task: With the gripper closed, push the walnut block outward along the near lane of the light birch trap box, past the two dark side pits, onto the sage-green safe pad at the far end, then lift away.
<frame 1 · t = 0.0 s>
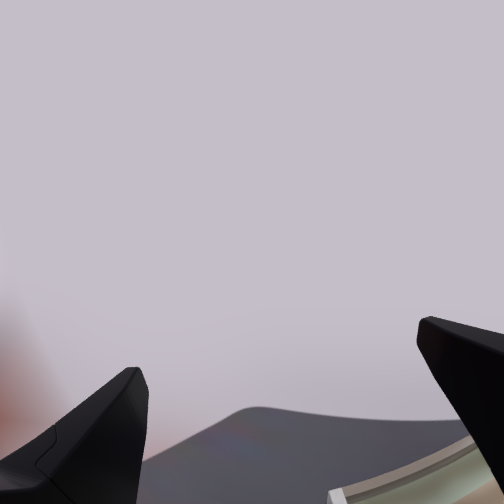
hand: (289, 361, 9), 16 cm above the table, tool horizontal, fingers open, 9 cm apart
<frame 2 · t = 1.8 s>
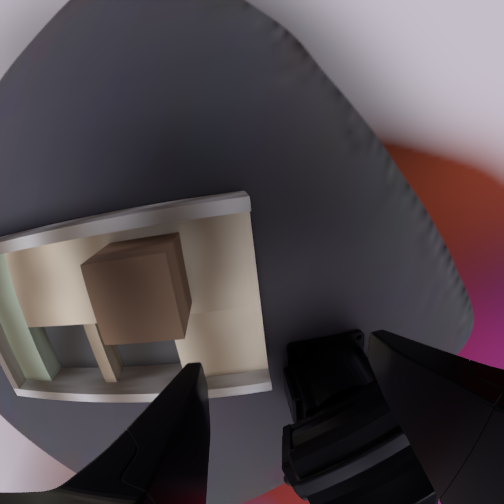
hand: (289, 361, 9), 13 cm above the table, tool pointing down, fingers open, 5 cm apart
trap box: (109, 301, 21), on the table
walnut block: (150, 272, 18), point 2 cm above the table, touching trap box
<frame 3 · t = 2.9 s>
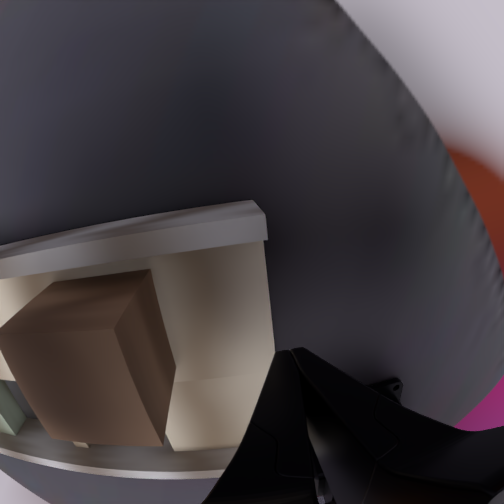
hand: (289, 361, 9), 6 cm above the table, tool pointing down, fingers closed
trap box: (70, 350, 15), on the table
walnut block: (112, 326, 12), point 2 cm above the table, touching trap box
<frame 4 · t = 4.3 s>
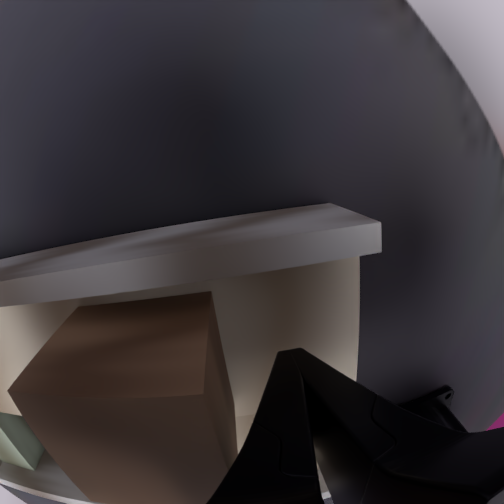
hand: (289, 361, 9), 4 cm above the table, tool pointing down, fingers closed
trap box: (100, 379, 12), on the table
walnut block: (157, 360, 10), point 3 cm above the table, touching gripper
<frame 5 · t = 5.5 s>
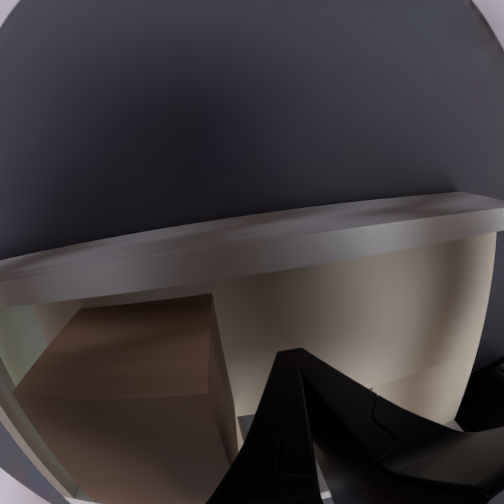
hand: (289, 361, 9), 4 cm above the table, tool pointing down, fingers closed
trap box: (243, 367, 13), on the table
walnut block: (158, 361, 10), point 2 cm above the table, touching gripper, trap box
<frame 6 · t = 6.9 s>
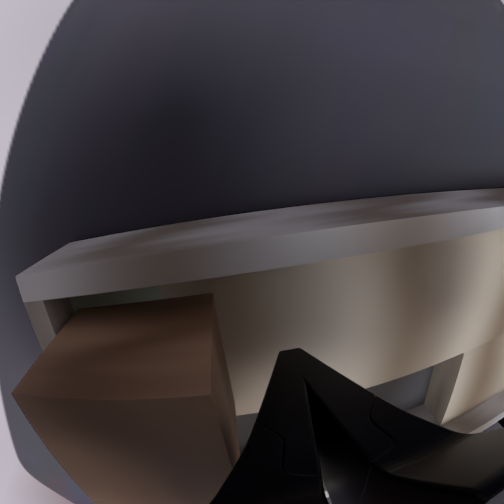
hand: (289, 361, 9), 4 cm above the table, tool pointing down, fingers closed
trap box: (352, 345, 13), on the table
walnut block: (158, 361, 10), point 3 cm above the table, touching gripper, trap box
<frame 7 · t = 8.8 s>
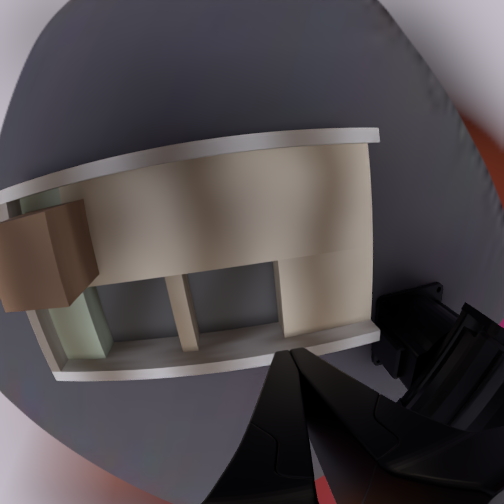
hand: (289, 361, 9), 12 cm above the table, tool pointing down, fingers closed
trap box: (191, 252, 20), on the table
walnut block: (59, 242, 16), point 2 cm above the table, touching trap box
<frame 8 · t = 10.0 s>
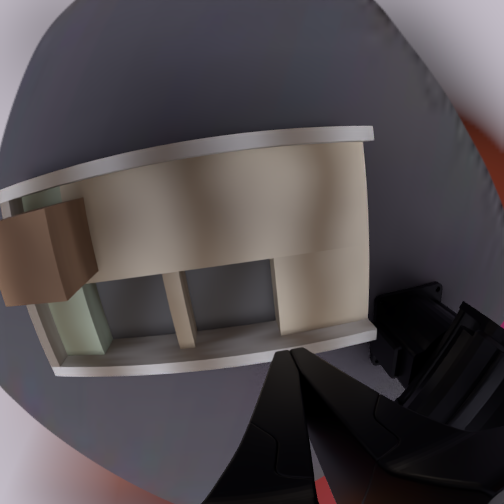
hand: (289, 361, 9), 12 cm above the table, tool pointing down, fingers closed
trap box: (189, 250, 20), on the table
walnut block: (60, 240, 16), point 2 cm above the table, touching trap box
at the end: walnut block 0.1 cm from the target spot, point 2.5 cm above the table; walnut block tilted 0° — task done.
